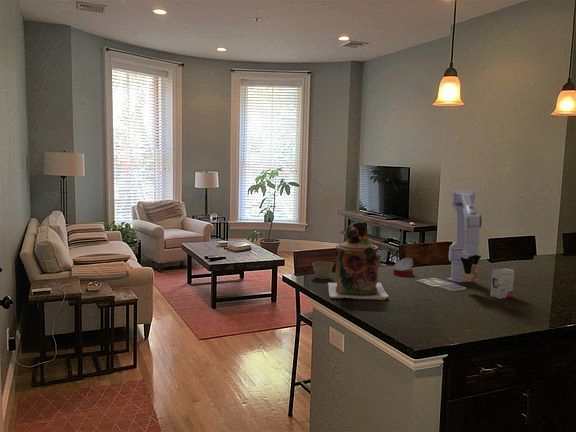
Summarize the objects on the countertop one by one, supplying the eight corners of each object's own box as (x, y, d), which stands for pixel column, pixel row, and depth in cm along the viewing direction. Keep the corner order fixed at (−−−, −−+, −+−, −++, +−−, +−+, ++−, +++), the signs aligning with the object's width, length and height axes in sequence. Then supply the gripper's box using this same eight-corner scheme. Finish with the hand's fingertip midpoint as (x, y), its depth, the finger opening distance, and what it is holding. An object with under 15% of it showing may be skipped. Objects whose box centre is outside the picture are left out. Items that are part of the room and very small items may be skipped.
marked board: (435, 279, 245) (435, 277, 245) (454, 284, 233) (455, 283, 233) (414, 281, 239) (414, 280, 239) (434, 287, 227) (434, 286, 227)
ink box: (503, 294, 217) (505, 267, 216) (513, 297, 213) (515, 270, 212) (489, 296, 213) (490, 269, 212) (498, 299, 209) (500, 271, 208)
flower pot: (332, 276, 247) (333, 262, 246) (332, 280, 237) (333, 266, 236) (312, 275, 248) (313, 261, 247) (311, 279, 238) (312, 265, 237)
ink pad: (452, 285, 231) (452, 283, 231) (465, 289, 224) (466, 286, 224) (439, 287, 227) (439, 284, 227) (452, 291, 220) (453, 288, 220)
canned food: (412, 284, 252) (417, 269, 247) (392, 282, 252) (397, 267, 247) (409, 270, 262) (414, 255, 256) (390, 268, 262) (394, 253, 256)
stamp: (469, 278, 222) (470, 263, 221) (478, 281, 217) (479, 265, 216) (461, 279, 219) (461, 264, 219) (469, 282, 215) (470, 266, 214)
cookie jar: (326, 285, 227) (328, 216, 224) (380, 287, 227) (383, 217, 224) (329, 300, 203) (331, 222, 200) (390, 301, 202) (393, 223, 199)
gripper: (468, 239, 225) (466, 268, 226) (456, 242, 213) (455, 273, 215) (484, 240, 220) (482, 271, 222) (473, 244, 209) (471, 276, 210)
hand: (470, 272), depth 218 cm, fingers closed on stamp, 6 cm apart
